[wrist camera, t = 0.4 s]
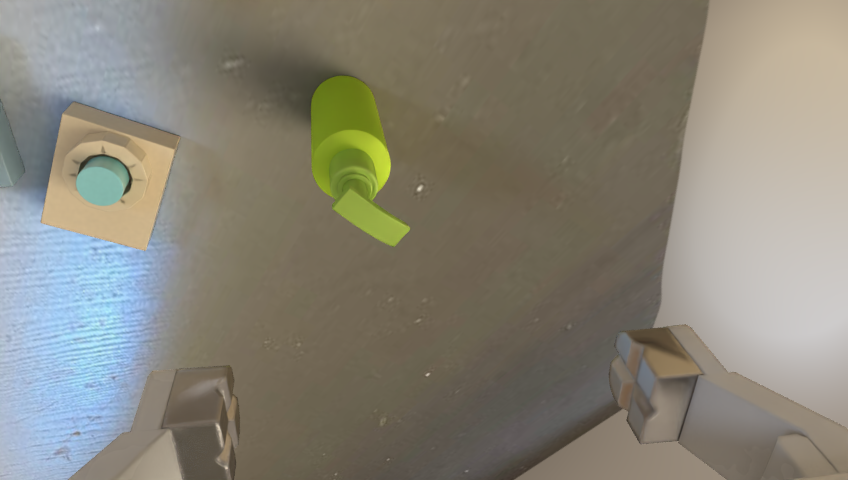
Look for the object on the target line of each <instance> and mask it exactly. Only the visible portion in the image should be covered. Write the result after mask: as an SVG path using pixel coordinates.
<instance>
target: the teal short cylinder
mask: <svg viewBox="0 0 848 480" xmlns="http://www.w3.org/2000/svg"><path fill="white" fill-rule="evenodd" d="M128 183H129V174H128V171H127V169H126V168H125V166H124V165H123V164H122V163H120V162H119V161H118V160H116V159H114V158H111V157H107V156H98V157H94V158H92V159H90V160H89V161H88V162H87V163H86V164H85V165H84V167H83V168H82V170H81V171H80V173H79V174H78V176H77V178H76V188H77V190H78V192H79V194H80V195H81V196H82V197H83V198H84V199H85V200H86V201H88V202H90V203H92V204H95V205H99V206H108V205H112V204H114V203H116V202H118V201H119V200H120V198H121V197H122V195H123V193H124V191H125V190H126V188H127V186H128Z"/></svg>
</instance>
